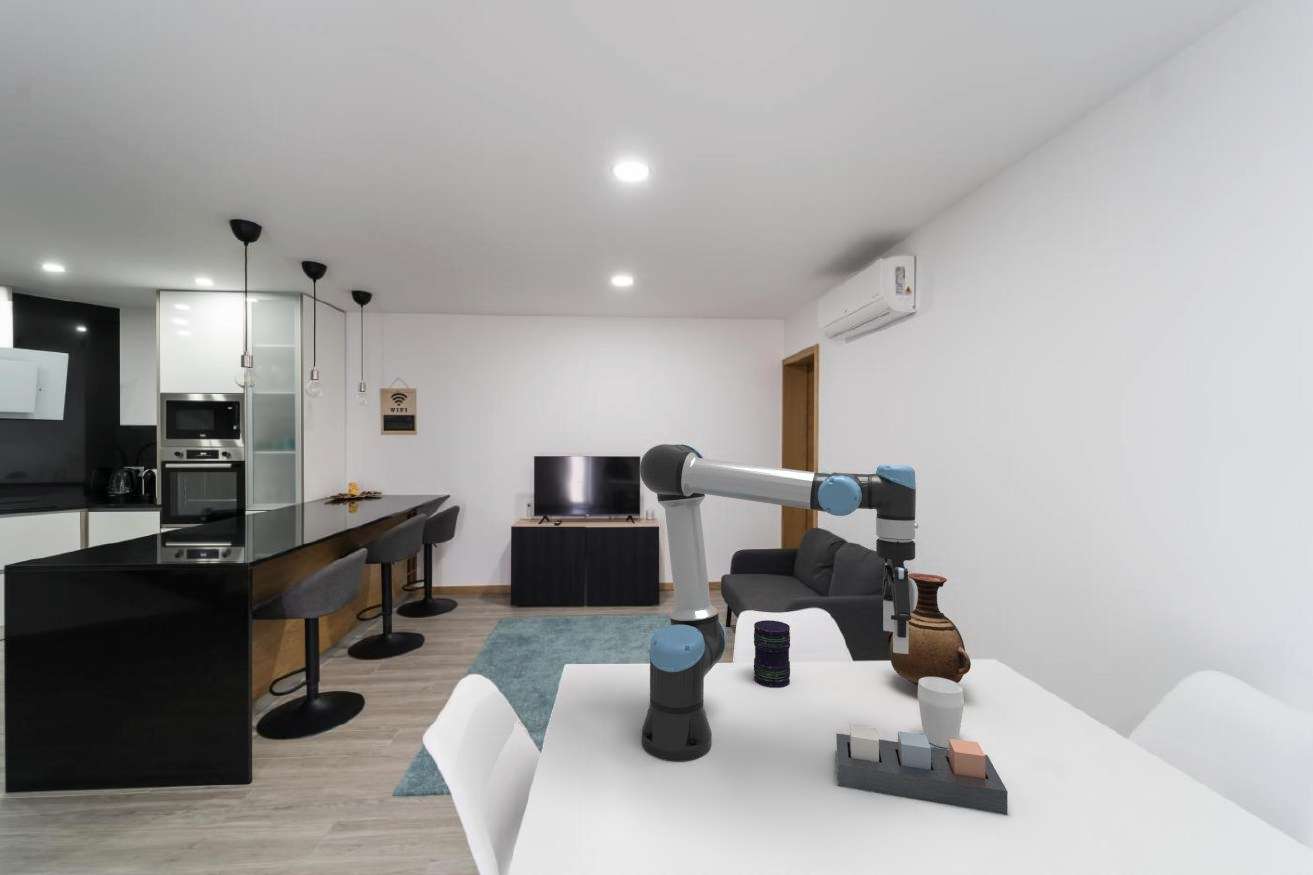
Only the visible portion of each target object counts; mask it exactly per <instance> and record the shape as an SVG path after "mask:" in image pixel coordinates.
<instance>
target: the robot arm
mask: <svg viewBox="0 0 1313 875" xmlns="http://www.w3.org/2000/svg"><path fill="white" fill-rule="evenodd" d="M639 475H640V479H641V481H642V483H643V484H644V486H645V487H646V488H647V489H648V490H649V491H651V492H653V493H656V495H657V496H656V499H657V503H658V504H659V505H660V506H661V507H663V509H664V514H665V521H666V522H665V523H666V524H665V525H666V529H667V530H666V533H667V542H668V551H669V560H670V569H671V570H670V571H671V577H672V579H671V580H672V586H673V588H672V589H673V597H674V606H675V607H674V609H673V610H672V611H671V613H670V614H669V620H670V621H669V622H670V625H669V626H668V627H667V626H663V627H661V628H660V629H658V630H656V631H655V632H654V633H653V635H652V636H651V639H650V647H649V651H648V652H649V708H648V710H647V713H646V716H645V719H644V723H643V726H642V729H641V746H642V748H643V749H644V751H645V752H647V753H648V754H649V755H651V756H652V757H655V758H658V759H660V760H663V761H665V760H666V761H672V762H673V761H674V762H685V761H691V760H695V759H698V758H701V757H703V756H705V755H706V754H708V752H709V751H710V750H711V748H712V746H713V745H712V743H713V741H712V738H713V737H712V736H713V735H712V729H711V726H710V723H709V720H708V717H707V714H706V710H705V705H704V703H705V702H704V695H705V694H704V693H705V692H704V691H705V690H704V685H705V684H704V682H705V677H706V676H707V674H708V673H709V672H710V671H711V670H712V668H713V667H715V665H716V664H717V663H718V662H719V661H720V660H721V658H722V656H724V653H725V650H726V646H727V639H728V638H727V632H726V629H725V627H724V625H723V623H722V621H720V619H719V617H720V616H719V611H718V609H717V608H716V607H715V606H714V605H712V603H711V594H710V586H709V584H710V583H709V576H708V568H707V559H706V550H705V540H704V533H703V524H702V523H703V522H702V513H701V512H702V511H701V506H700V505H701V503H702V502H703V501H704V499H705V498H706V495H709V496H714V497H715V496H716V497H722V498H730V499H736V500H744V501H750V502H758V503H764V504H770V505H771V504H772V505H779V506H784V507H792V508H798V509H799V508H800V509H805V510H811V511H818V512H822V513H823V512H824V513H828V514H830V515H831V516H835V517H836V516H837V517H844V516H848V515H851V514H852V513H854V512H855V511H856V510H859V509H861V510H863V509H864V510H876V517H875V535H876V536H877V537H878V538H877V539H876V541H875V545H876V546H875V552H876V553H875V555H876V556H877V557H878V558H881V559H883V560H884V563H883V564H884V565H883V574H882V575H883V579H882V588H881V589H882V590H881V593H882V598H883V602H882V606H883V609H882V610H883V611H882V612H883V613H882V614H883V615H882V616H883V617H882V618H883V619H882V622H883V624H882V629H883V632H893V652H894V653H902V654H908V648H909V620H911V613H910V612H911V603H910V600H911V599H910V591H909V590H910V589H909V577H908V574H909V570H908V568H906V567H905V562H906V561H913V560H915V559H916V542H915V541H914V539H915V538H916V530H915V529H919V524H918V523H916V502H917V498H916V497H917V487H916V484H917V483H916V471H915V469H914V468H913V467H912V466H910V465H901V464H900V465H897V464H891V465H890V464H889V465H887V464H880V465H877V467H876V471H875V473H868V474H867V473H865V474H864V473H852V472H851V473H848V472H847V473H846V472H845V473H843V472H835V471H833V472H814V471H809V470H808V471H807V470H799V469H791V468H783V467H774V466H765V465H757V464H750V463H744V462H743V463H742V462H735V461H734V462H733V461H727V460H726V461H725V460H718V459H710V458H705V457H704V455H703V454H702V453H701V452H700V451H699V450H698V449H696V448H694V447H692V446H690V445H688V444H684V443H683V444H667V443H666V444H665V443H664V444H657V445H655V446H652V447H650V449H648V450H647V451H646V452H645V453H644V455H643V456H642V459H641V461H640V464H639Z"/></svg>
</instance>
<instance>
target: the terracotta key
mask: <svg viewBox="0 0 1313 875" xmlns="http://www.w3.org/2000/svg"><path fill="white" fill-rule="evenodd" d="M948 749H949V766H950V769H951V771H952V774H957V775H964V776H970V777H977V778H983V779H985V755H986V754H984V753H985V752H984V751H983V750H982V748H981V746H980V744H979V742H977V741H970V740H964V739H950V738H949V748H948Z"/></svg>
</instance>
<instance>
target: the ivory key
mask: <svg viewBox="0 0 1313 875" xmlns="http://www.w3.org/2000/svg"><path fill="white" fill-rule="evenodd" d="M849 735H850V756H851V758H854V759H861V760H867V761H874V762H879V734H878V729H877V727H872V726H871V727H870V726H864V725H858V724H857V725H855V724H849Z"/></svg>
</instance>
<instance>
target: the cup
mask: <svg viewBox="0 0 1313 875" xmlns="http://www.w3.org/2000/svg"><path fill="white" fill-rule="evenodd" d="M917 700H918V706H919V707H918V708H919V714H920V719H921V721H920V722H921V726H922V735H926V737H927V740H928V742H929V744H931V745H933V746H936V747H938V748H943V749H949V738H950V739H958V740H960V738H959V737H960V733H961V732H960V731H961V726H962V718H963V712H964V706H965V699H964V688H963V686H962V685H960V684H959V683H956V682H954V681H951V680H948V679H944V678H939V677H923V678H920V679H919V681H918V686H917Z"/></svg>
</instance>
